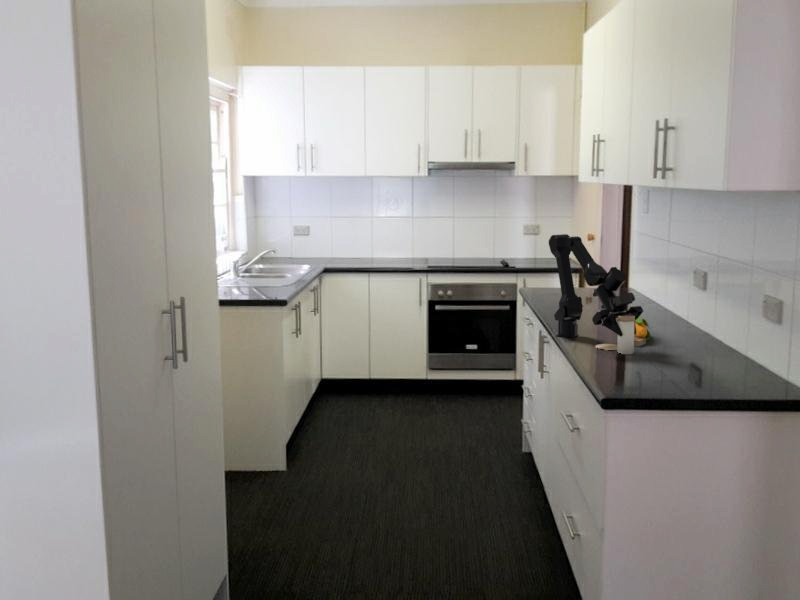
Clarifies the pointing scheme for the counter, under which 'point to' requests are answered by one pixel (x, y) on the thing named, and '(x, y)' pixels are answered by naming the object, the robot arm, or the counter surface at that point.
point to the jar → (626, 334)
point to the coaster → (607, 346)
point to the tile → (639, 341)
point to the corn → (642, 329)
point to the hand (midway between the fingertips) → (628, 334)
